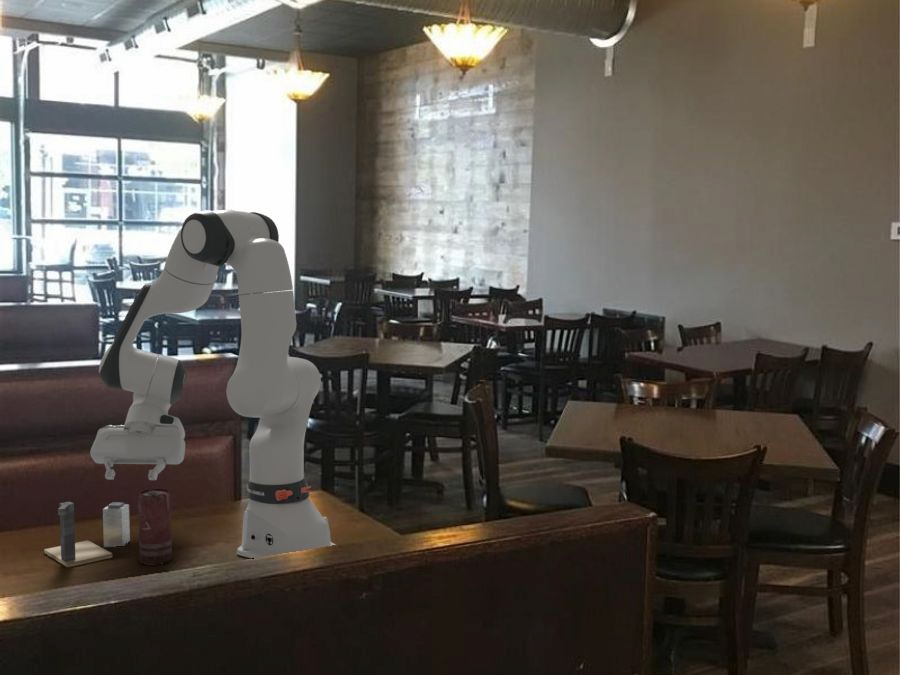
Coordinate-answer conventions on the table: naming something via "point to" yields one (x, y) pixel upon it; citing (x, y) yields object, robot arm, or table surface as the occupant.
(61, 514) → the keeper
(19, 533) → the table surface
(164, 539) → the can
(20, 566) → the table surface
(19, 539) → the table surface
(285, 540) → the robot arm
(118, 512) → the grey square pillar
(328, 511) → the table surface
